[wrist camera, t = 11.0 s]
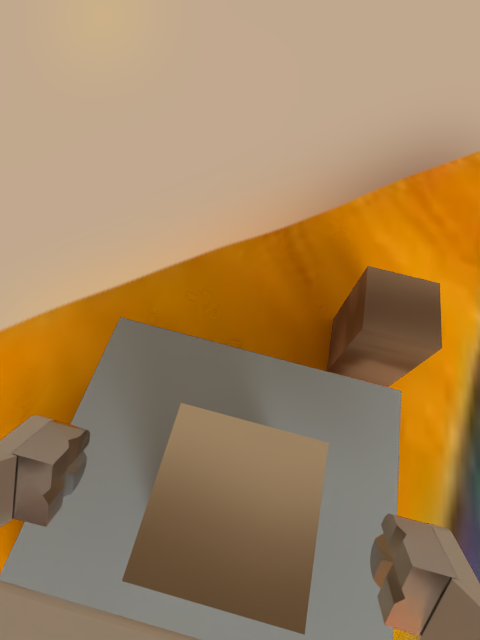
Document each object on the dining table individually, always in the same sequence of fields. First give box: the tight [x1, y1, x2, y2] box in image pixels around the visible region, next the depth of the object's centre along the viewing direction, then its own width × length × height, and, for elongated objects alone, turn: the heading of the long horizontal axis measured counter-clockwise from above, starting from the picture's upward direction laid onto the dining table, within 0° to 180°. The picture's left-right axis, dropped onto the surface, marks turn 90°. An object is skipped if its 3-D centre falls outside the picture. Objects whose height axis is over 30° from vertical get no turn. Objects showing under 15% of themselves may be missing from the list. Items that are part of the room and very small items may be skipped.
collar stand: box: [0, 317, 401, 640], centre depth 16 cm, size 13×13×4 cm
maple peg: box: [122, 403, 329, 635], centre depth 13 cm, size 4×4×11 cm
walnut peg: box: [327, 266, 442, 387], centre depth 20 cm, size 4×4×6 cm
